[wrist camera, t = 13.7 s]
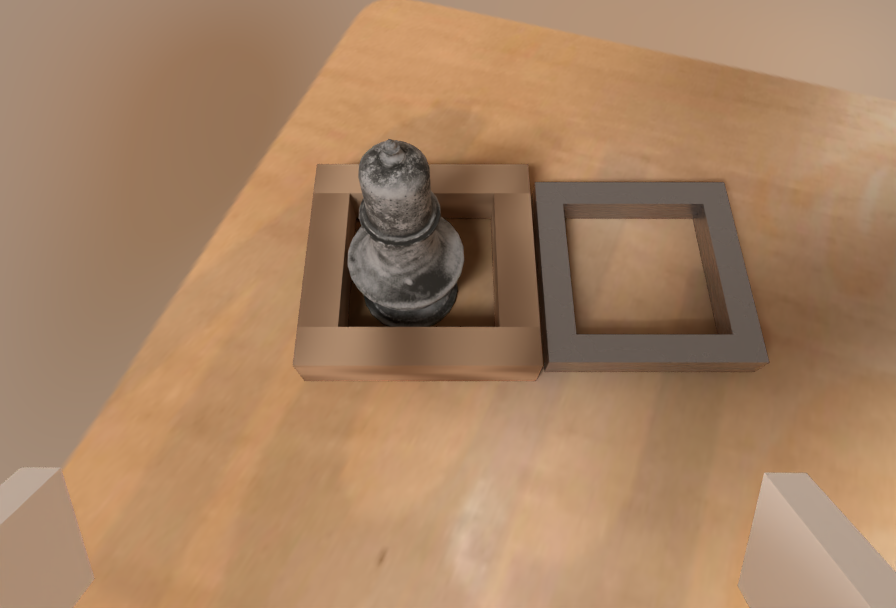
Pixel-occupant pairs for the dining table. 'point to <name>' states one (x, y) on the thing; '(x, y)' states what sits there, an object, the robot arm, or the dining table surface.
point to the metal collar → (638, 352)
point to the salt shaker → (403, 240)
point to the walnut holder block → (422, 348)
